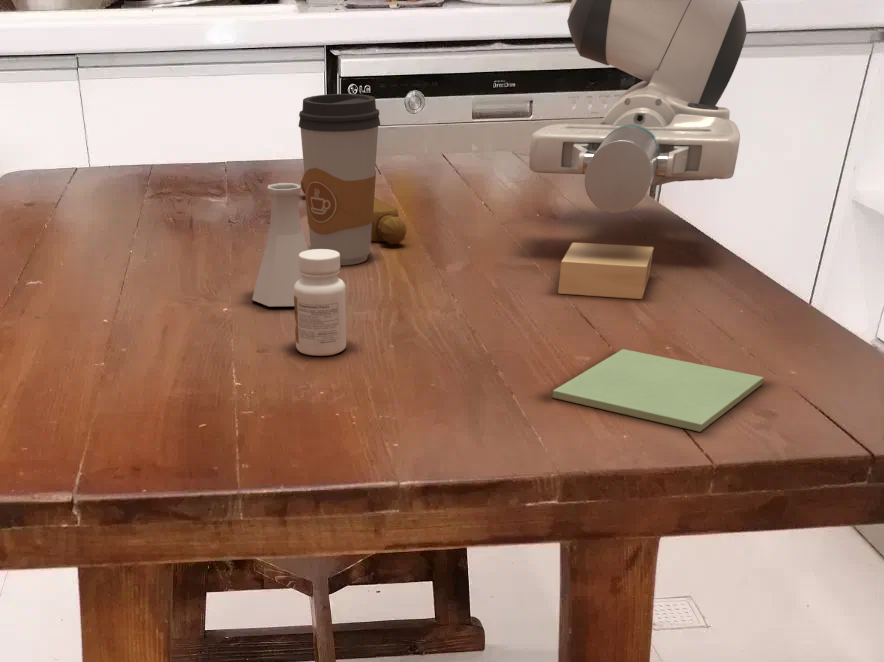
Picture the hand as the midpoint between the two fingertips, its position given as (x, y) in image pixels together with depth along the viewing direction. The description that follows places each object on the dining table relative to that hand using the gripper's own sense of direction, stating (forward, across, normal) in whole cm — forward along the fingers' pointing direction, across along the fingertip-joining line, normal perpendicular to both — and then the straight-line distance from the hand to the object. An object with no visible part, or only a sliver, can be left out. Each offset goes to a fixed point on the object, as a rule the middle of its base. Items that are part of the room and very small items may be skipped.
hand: (624, 165), depth 105 cm
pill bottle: (+29, -21, +10) cm, 37 cm away
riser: (+3, 0, +10) cm, 11 cm away
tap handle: (-18, -33, +10) cm, 39 cm away
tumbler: (+1, 0, +3) cm, 3 cm away
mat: (+32, +7, +10) cm, 34 cm away
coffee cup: (-1, -29, +10) cm, 31 cm away
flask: (+15, -29, +10) cm, 35 cm away
